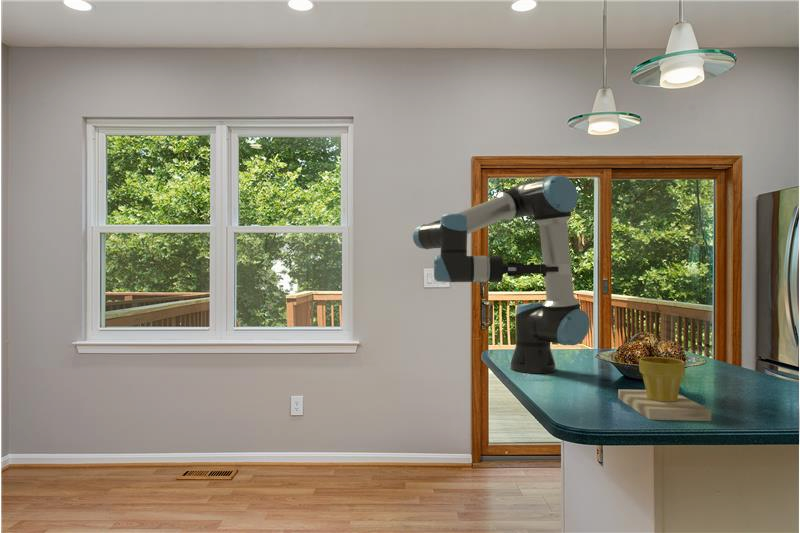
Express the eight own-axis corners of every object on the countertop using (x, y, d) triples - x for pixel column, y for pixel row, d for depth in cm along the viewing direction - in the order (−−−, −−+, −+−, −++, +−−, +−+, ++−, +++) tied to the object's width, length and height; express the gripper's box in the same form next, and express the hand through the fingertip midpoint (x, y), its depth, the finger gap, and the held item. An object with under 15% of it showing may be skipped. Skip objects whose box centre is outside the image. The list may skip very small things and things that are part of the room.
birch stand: (618, 398, 143) (618, 389, 143) (671, 399, 142) (671, 390, 142) (649, 419, 123) (649, 408, 123) (711, 420, 122) (711, 410, 122)
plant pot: (637, 400, 131) (637, 361, 131) (640, 392, 140) (640, 355, 140) (684, 406, 126) (685, 365, 126) (685, 397, 135) (685, 358, 135)
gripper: (482, 281, 164) (551, 281, 163) (494, 283, 139) (575, 283, 138) (482, 256, 164) (551, 256, 163) (494, 254, 139) (575, 255, 138)
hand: (563, 269), depth 151 cm, fingers open, 13 cm apart
